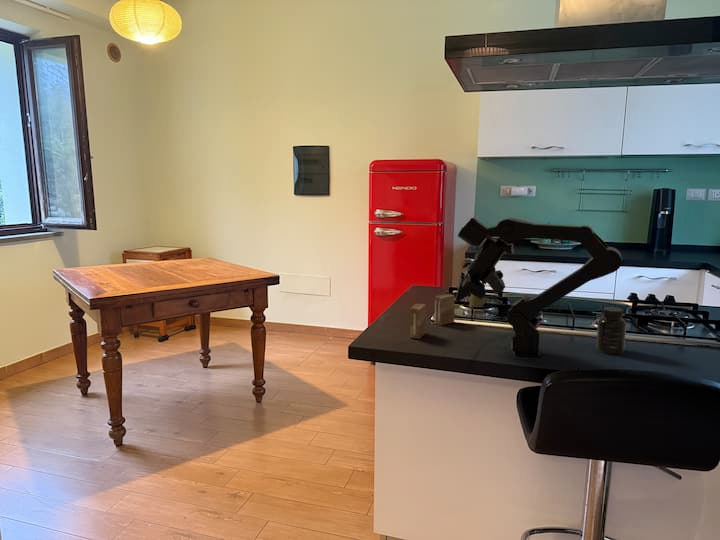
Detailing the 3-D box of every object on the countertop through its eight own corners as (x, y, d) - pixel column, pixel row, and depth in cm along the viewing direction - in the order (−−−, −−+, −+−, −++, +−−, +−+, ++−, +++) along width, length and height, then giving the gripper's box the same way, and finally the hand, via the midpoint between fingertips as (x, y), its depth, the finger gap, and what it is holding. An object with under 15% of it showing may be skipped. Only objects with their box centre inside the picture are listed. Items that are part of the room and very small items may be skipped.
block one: (425, 332, 145) (425, 304, 144) (419, 339, 140) (419, 309, 138) (416, 331, 147) (416, 303, 145) (409, 337, 141) (409, 308, 139)
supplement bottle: (595, 345, 135) (598, 304, 133) (622, 348, 133) (625, 306, 131) (596, 353, 129) (600, 311, 127) (625, 356, 127) (629, 313, 124)
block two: (454, 321, 156) (454, 295, 154) (440, 325, 152) (440, 298, 151) (447, 319, 158) (447, 293, 157) (433, 323, 155) (434, 296, 153)
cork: (466, 312, 172) (467, 282, 170) (470, 308, 177) (471, 279, 175) (483, 314, 169) (484, 284, 167) (487, 310, 174) (487, 281, 172)
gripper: (516, 285, 123) (482, 329, 129) (509, 260, 140) (479, 300, 146) (479, 263, 123) (447, 309, 129) (477, 241, 140) (448, 282, 146)
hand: (457, 300), depth 138 cm, fingers closed
